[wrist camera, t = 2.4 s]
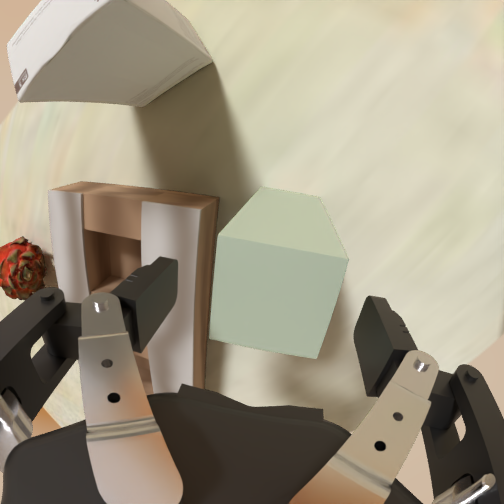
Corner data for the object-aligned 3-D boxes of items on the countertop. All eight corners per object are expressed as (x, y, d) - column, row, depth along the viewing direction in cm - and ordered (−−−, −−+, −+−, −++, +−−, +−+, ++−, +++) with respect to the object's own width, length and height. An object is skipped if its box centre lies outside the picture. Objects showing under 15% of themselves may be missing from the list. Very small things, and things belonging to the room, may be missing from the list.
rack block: (219, 197, 24) (200, 210, 19) (204, 395, 34) (193, 424, 29) (81, 181, 26) (47, 190, 21) (103, 361, 35) (85, 383, 30)
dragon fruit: (66, 243, 31) (39, 268, 36) (16, 210, 25) (-1, 243, 30) (48, 302, 26) (25, 315, 31) (-10, 270, 20) (-19, 292, 25)
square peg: (319, 197, 23) (349, 259, 10) (308, 251, 25) (316, 358, 12) (261, 186, 24) (217, 234, 11) (253, 241, 25) (209, 338, 12)
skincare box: (190, 21, 19) (99, -58, 5) (217, 65, 20) (125, -13, 6) (119, 69, 21) (2, 41, 7) (140, 113, 23) (11, 105, 9)
